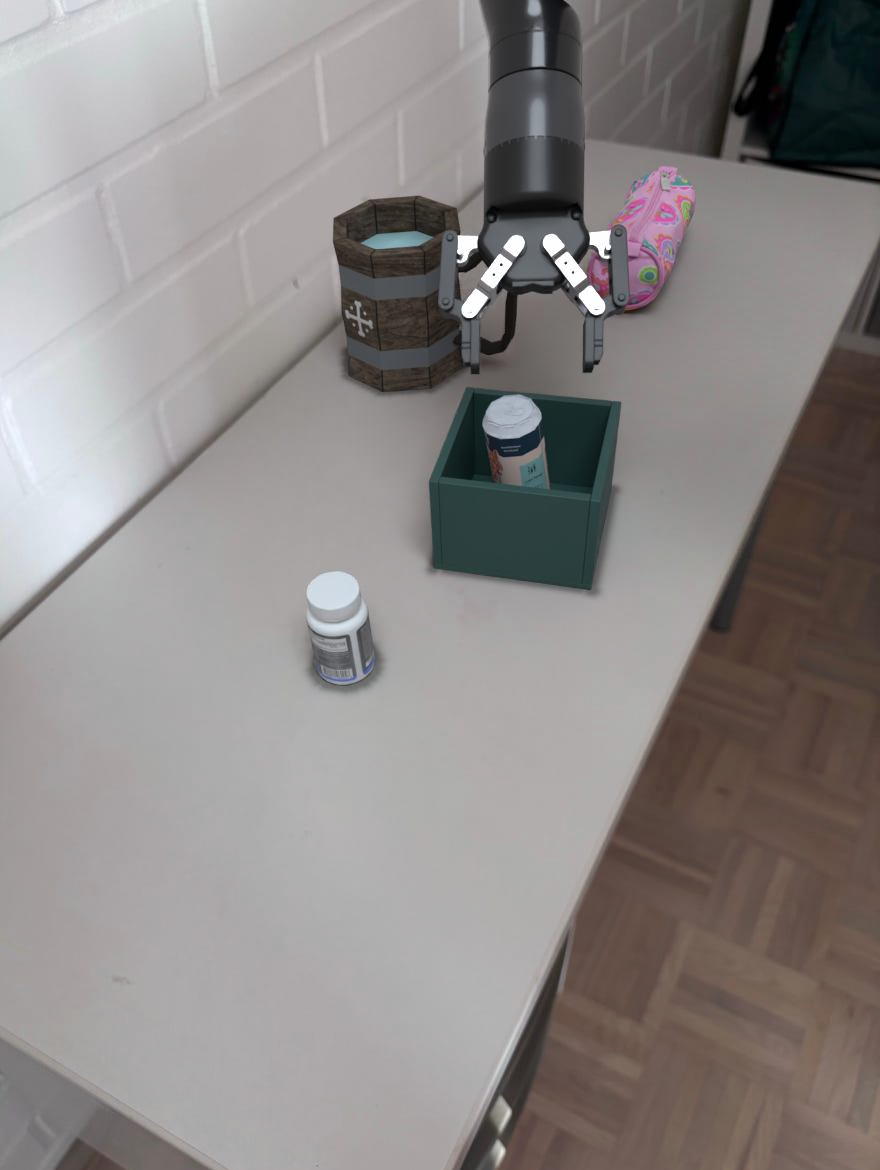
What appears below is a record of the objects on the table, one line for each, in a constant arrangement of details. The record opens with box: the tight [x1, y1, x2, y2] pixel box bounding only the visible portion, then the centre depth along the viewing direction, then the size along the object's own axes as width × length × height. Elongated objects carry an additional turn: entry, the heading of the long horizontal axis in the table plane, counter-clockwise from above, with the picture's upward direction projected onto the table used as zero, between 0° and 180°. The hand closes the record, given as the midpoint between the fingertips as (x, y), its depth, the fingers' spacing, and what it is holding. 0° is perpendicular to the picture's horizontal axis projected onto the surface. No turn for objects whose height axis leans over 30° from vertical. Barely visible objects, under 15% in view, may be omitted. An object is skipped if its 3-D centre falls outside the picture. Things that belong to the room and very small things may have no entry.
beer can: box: [482, 395, 551, 489], centre depth 83 cm, size 5×5×12 cm
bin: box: [428, 386, 622, 591], centre depth 84 cm, size 14×14×10 cm
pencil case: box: [586, 165, 697, 311], centre depth 114 cm, size 21×9×9 cm, turn 157°
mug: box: [332, 195, 519, 393], centre depth 102 cm, size 20×14×15 cm
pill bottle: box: [305, 570, 376, 686], centre depth 75 cm, size 5×5×8 cm
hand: (531, 371), depth 75 cm, fingers open, 8 cm apart
